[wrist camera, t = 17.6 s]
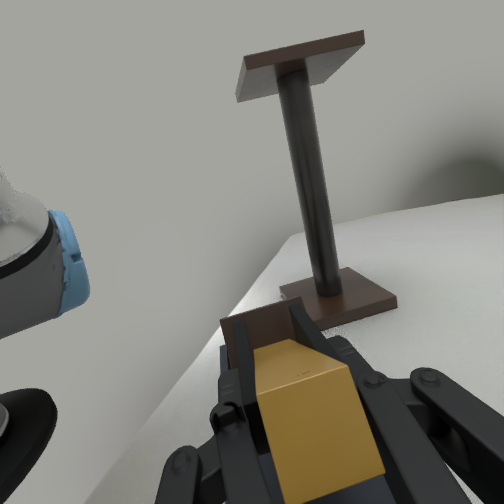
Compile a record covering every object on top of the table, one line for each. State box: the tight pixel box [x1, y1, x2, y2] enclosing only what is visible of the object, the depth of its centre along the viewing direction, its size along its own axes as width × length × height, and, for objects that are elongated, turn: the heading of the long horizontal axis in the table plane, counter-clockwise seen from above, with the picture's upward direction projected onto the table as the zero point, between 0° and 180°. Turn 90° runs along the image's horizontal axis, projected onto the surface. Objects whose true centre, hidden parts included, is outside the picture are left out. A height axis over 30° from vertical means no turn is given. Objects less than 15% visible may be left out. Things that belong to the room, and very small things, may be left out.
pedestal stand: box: [235, 30, 397, 331], centre depth 33 cm, size 12×12×30 cm
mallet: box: [220, 296, 386, 504], centre depth 17 cm, size 19×7×6 cm, turn 8°
